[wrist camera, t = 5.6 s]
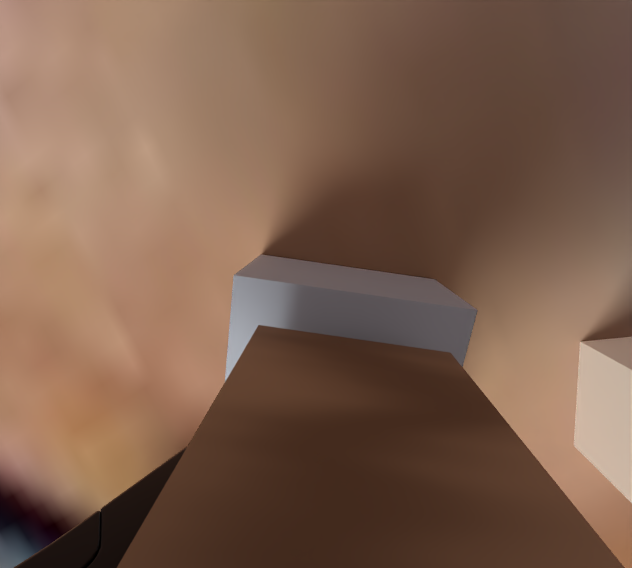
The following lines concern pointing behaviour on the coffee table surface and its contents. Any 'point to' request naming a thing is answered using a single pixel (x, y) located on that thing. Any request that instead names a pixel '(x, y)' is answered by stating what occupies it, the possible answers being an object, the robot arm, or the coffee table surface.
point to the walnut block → (358, 470)
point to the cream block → (606, 409)
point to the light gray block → (346, 306)
